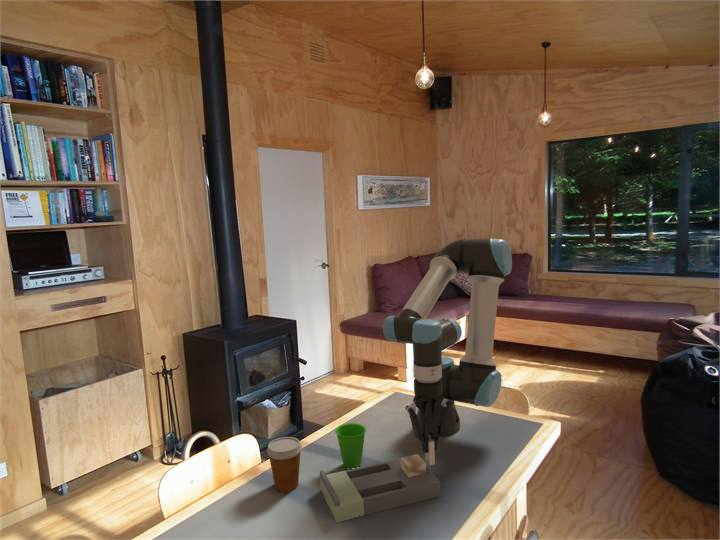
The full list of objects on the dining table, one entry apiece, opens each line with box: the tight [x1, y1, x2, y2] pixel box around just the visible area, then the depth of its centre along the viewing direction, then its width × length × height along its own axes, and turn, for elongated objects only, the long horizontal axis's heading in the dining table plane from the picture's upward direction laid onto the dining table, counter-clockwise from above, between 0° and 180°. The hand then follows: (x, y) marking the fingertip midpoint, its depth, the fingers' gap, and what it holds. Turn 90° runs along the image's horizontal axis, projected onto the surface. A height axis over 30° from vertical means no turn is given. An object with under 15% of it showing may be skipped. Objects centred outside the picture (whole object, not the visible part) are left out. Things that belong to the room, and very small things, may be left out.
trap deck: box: [319, 457, 441, 523], centre depth 130 cm, size 28×15×6 cm, turn 109°
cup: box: [334, 422, 367, 470], centre depth 145 cm, size 9×9×11 cm
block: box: [400, 453, 427, 477], centre depth 133 cm, size 5×5×3 cm
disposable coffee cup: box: [266, 436, 303, 493], centre depth 136 cm, size 10×10×12 cm
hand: (430, 462), depth 135 cm, fingers closed
